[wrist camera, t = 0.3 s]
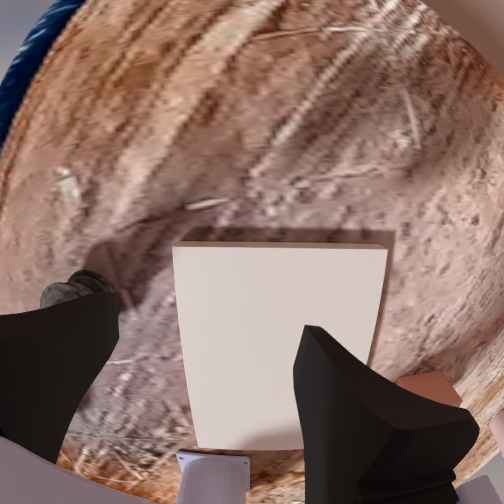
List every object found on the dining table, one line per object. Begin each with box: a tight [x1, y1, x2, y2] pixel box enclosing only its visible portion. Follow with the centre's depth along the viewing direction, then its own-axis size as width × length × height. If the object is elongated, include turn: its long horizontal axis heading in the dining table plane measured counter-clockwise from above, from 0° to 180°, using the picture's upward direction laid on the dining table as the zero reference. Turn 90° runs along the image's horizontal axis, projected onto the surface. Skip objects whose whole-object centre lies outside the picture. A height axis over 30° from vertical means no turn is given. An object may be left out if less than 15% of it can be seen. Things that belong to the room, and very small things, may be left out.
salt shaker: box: [40, 270, 119, 313], centre depth 16 cm, size 6×6×12 cm
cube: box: [396, 370, 462, 407], centre depth 21 cm, size 5×5×5 cm
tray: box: [172, 241, 388, 450], centre depth 22 cm, size 20×14×2 cm
